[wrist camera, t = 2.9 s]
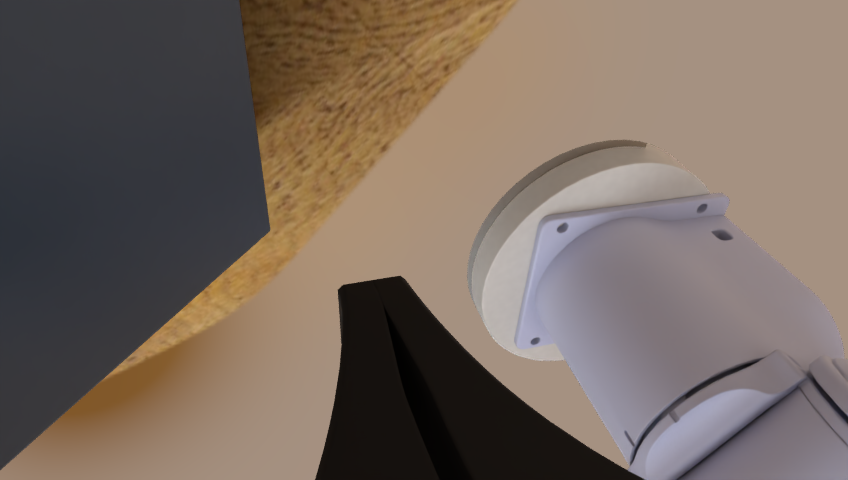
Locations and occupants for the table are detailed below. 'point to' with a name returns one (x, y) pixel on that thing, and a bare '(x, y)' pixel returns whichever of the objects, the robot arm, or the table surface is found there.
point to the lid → (114, 186)
